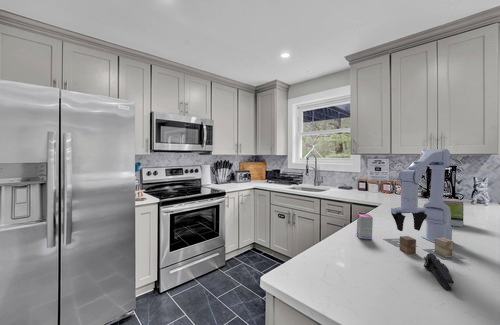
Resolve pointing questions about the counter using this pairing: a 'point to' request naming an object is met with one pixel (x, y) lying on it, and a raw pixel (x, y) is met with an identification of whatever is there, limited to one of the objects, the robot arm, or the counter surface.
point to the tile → (394, 242)
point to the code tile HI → (453, 257)
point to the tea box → (455, 211)
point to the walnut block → (408, 244)
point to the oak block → (443, 246)
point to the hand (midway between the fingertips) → (408, 230)
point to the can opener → (438, 270)
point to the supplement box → (364, 226)
